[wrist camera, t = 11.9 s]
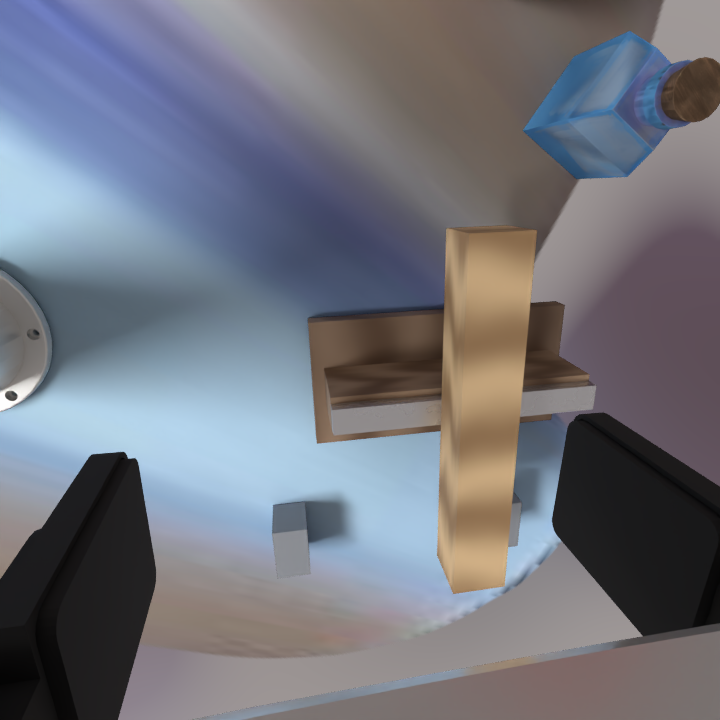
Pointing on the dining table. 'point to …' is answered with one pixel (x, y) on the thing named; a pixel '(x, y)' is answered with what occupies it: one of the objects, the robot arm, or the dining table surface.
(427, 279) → the dining table surface
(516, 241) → the oak batten
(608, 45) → the perfume bottle
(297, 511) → the pair of grey cubes
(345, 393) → the stand
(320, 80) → the dining table surface
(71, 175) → the dining table surface
